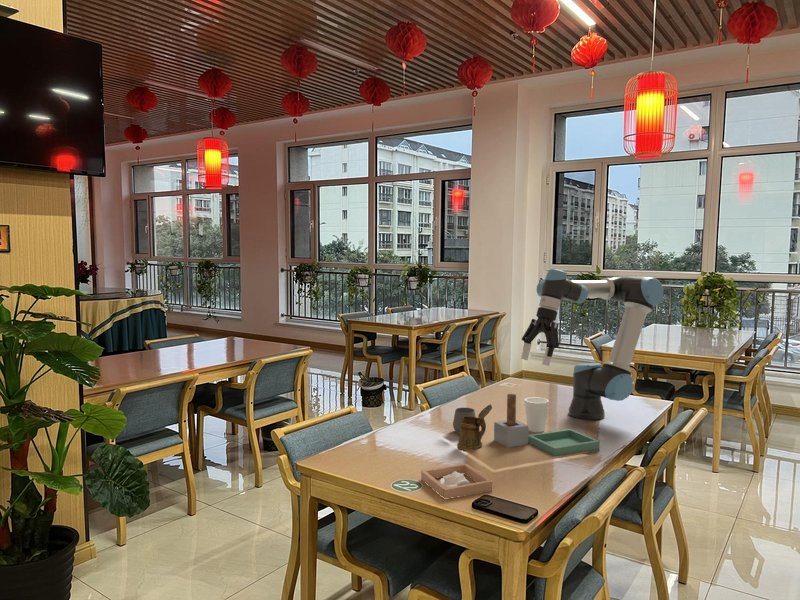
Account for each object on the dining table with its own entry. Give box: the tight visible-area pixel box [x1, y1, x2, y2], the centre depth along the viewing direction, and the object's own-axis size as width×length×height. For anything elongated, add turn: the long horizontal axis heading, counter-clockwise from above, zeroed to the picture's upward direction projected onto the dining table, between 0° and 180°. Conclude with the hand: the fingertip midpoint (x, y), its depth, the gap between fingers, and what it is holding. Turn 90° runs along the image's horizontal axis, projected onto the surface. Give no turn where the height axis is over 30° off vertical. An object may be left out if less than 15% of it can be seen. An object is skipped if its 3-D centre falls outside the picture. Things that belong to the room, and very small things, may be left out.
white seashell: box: [438, 471, 471, 488], centre depth 179 cm, size 10×4×10 cm
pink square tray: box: [420, 462, 494, 499], centre depth 179 cm, size 16×16×3 cm
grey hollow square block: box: [493, 419, 529, 448], centre depth 216 cm, size 9×9×8 cm
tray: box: [528, 428, 601, 458], centre depth 214 cm, size 20×16×4 cm
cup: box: [452, 407, 477, 435], centre depth 228 cm, size 10×9×10 cm
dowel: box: [506, 393, 517, 426], centre depth 216 cm, size 3×3×18 cm
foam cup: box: [524, 396, 550, 433], centre depth 232 cm, size 10×9×13 cm
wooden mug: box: [456, 404, 493, 452], centre depth 211 cm, size 9×14×18 cm, turn 47°
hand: (534, 362), depth 223 cm, fingers open, 13 cm apart
